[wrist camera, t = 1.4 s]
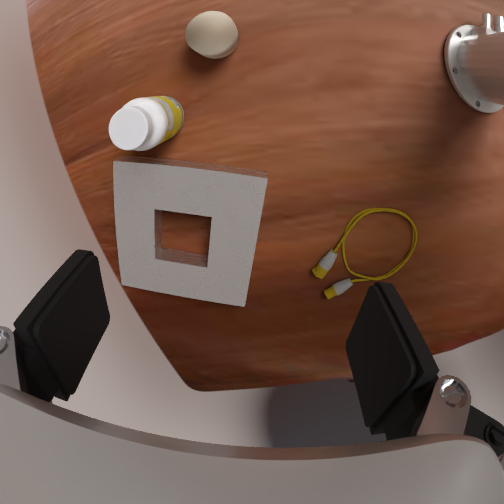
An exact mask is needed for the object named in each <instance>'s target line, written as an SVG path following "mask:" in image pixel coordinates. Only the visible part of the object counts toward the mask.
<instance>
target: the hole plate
mask: <svg viewBox="0 0 504 504" xmlns="http://www.w3.org/2000/svg"><path fill="white" fill-rule="evenodd" d="M113 179H114V207H115V224H116V237H117V248H118V257H119V266H120V274H121V282H122V285H125V286H130V287H135V288H140V289H145V290H150V291H155V292H160V293H165V294H171V295H176V296H182V297H187V298H193V299H199V300H204V301H210V302H217V303H223V304H229V305H236V306H242V307H245V303H246V297H247V292H248V286H249V280H250V275H251V269H252V264H253V258H254V253H255V247H256V241H257V236H258V230H259V225H260V219H261V213H262V208H263V202H264V196H265V191H266V185H267V180H268V172H267V171H261V170H254V169H248V168H241V167H234V166H227V165H220V164H212V163H204V162H195V161H186V160H176V159H166V158H154V157H142V156H127V155H124V156H122V157H120V158H118V159H116V160H114V161H113ZM162 210H165V211H172V212H179V213H186V214H194V215H201V216H207V217H212V221H211V232H210V243H209V255H205V254H199V253H193V252H187V251H180V250H174V249H168V248H162Z"/></svg>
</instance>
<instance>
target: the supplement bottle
mask: <svg viewBox="0 0 504 504" xmlns="http://www.w3.org/2000/svg"><path fill="white" fill-rule="evenodd" d="M183 122H184V112H183V109H182V107H181V105H180V104H179V102H178V101H176V100H175V99H173V98H171V97H168V96H155V97H143V98H137V99H134V100H131V101H129V102H128V103H127V104H125V105H124V106H123V107H122V109H120V110H118V111H117V112H116V113H115V114H114V115H113V117H112V118H111V120H110V124H109V135H110V138H111V140H112V142H113V143H114V144H115V145H116V146H117V147H118V148H120V149H123V150H136V151H145V150H148V149H151V148H153V147H155V146H157V145H158V144H160V143H162V142H164V141H166V140H168V139H170V138H172V137H173V136H175V135H176V134H177V133H178V132H179V131H180V129H181V127H182V125H183Z"/></svg>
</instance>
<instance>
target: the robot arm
mask: <svg viewBox="0 0 504 504" xmlns="http://www.w3.org/2000/svg"><path fill="white" fill-rule="evenodd" d="M482 21H483V26H481V27H477V26H474V25H461V26H458V27H456V28H454V29H453V30H452V31H451V32H450V33H449V35H448V37H447V39H446V42H445V49H444V57H445V64H446V69H447V72H448V75H449V78H450V80H451V83H452V85H453V87H454V88H455V90H456V92H457V93H458V95H459V96H460V97H461V98H462V100H463V101H464V102H466V103H467V104H468V105H469V106H470V107H472V108H473V109H475V110H478V111H480V112H485V113H494V112H497V111H499V110H500V109H502V108H503V107H504V18H503V17H501V16H499V15H494V16H493V26H494V31H493V30H492V29H491V25H492V17H491V16H490V15H489V14H487V13H482ZM109 321H110V314H109V310H108V305H107V302H106V297H105V292H104V288H103V283H102V278H101V273H100V267H99V261H98V258H97V257H96V256H94V253H93V252H92V251H87V250H76V251H75V252H74V253H73V254H72V255H71V256H70V257H69V258H68V259H67V260H66V261H65V263H64V264H63V265H62V266H61V267H60V268H59V269H58V270H57V271H56V272H55V274H54V275H53V276H52V277H51V278H50V279H49V280H48V281H47V283H46V284H45V285H44V286H43V287H42V288H41V290H40V291H39V292H38V293H37V294H36V296H35V297H34V298H33V299H32V300H31V302H30V303H29V304H28V305H27V307H26V308H25V309H24V310H23V312H22V313H21V314H20V315H19V317H18V318H17V319H16V321H15V322H14V326H15V328H16V329H15V331H14V332H12V331H11V330H10V329H9V328H7V327H3V326H0V504H504V426H503V425H502V424H501V423H499V422H498V421H496V420H494V419H493V418H491V417H490V416H488V415H486V414H484V413H483V412H481V411H480V410H478V409H476V408H475V407H473V406H471V405H470V404H471V395H470V391H469V389H468V388H467V386H466V385H465V384H464V383H463V382H462V381H461V380H460V379H458V378H457V377H454V376H449V375H446V376H442V377H441V378H438V376H437V373H438V372H439V369H438V367H437V365H436V362H435V360H434V359H433V356H432V354H431V352H430V350H429V348H428V347H427V345H426V343H425V341H424V339H423V337H422V335H421V333H420V331H419V329H418V328H417V326H416V324H415V322H414V320H413V318H412V317H411V315H410V313H409V311H408V310H407V308H406V306H405V304H404V303H403V301H402V299H401V297H400V296H399V294H398V292H397V291H396V289H395V287H394V286H393V284H392V283H384V282H376V283H375V284H374V285H373V286H370V287H369V289H368V291H367V294H366V296H365V299H364V301H363V304H362V306H361V309H360V311H359V313H358V316H357V318H356V321H355V323H354V325H353V327H352V330H351V332H350V334H349V337H348V339H347V341H346V352H347V356H348V359H349V363H350V366H351V370H352V374H353V378H354V382H355V385H356V389H357V393H358V397H359V401H360V405H361V409H362V414H363V418H364V422H365V425H366V426H367V427H369V428H370V431H371V435H374V434H381V433H385V434H386V438H387V439H386V440H385V441H381V442H372V443H364V444H355V445H344V446H332V447H314V448H313V447H312V448H264V447H244V446H230V445H220V444H211V443H203V442H195V441H189V440H182V439H176V438H171V437H165V436H160V435H156V434H151V433H146V432H142V431H137V430H133V429H129V428H125V427H121V426H118V425H114V424H110V423H107V422H104V421H100V420H97V419H94V418H91V417H88V416H85V415H82V414H79V413H76V412H73V411H70V410H67V409H65V408H62V407H59V406H57V405H54V404H52V399H53V397H54V396H55V397H57V398H59V399H62V400H64V401H68V399H69V396H70V394H71V395H72V394H74V393H75V391H76V389H77V387H78V385H79V383H80V381H81V378H82V376H83V374H84V372H85V370H86V368H87V366H88V364H89V362H90V360H91V358H92V355H93V353H94V352H95V350H96V348H97V346H98V344H99V342H100V340H101V338H102V336H103V334H104V332H105V330H106V328H107V326H108V324H109Z"/></svg>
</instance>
